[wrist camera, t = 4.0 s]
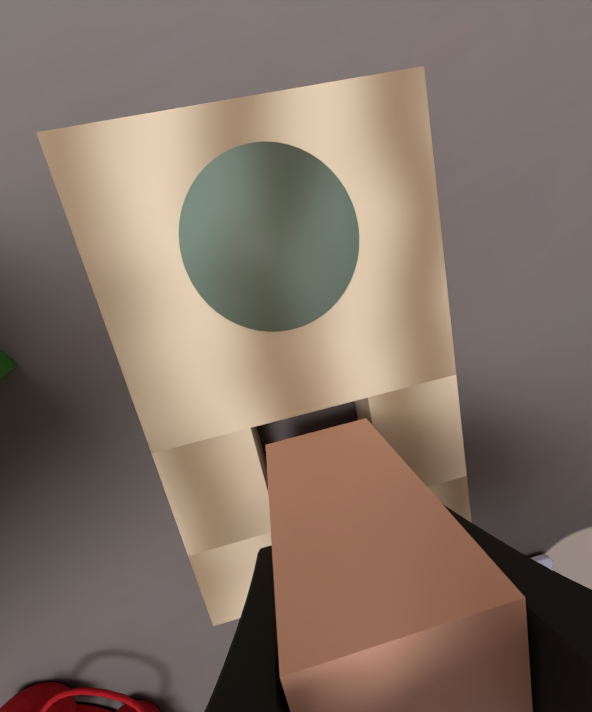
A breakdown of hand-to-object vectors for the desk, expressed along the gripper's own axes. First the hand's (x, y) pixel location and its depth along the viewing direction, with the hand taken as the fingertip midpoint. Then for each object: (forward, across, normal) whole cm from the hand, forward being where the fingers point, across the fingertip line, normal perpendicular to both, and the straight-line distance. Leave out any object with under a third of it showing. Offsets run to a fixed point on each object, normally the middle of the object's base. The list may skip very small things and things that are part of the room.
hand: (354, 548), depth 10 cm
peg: (+4, 0, 0) cm, 4 cm away
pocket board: (+7, 0, -4) cm, 8 cm away
